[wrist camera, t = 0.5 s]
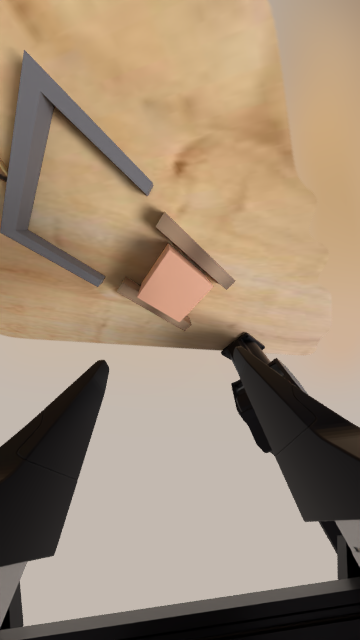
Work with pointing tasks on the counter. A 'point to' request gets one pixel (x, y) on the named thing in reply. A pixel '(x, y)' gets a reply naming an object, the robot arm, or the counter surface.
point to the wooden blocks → (194, 252)
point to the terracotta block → (174, 284)
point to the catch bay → (28, 155)
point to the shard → (3, 171)
